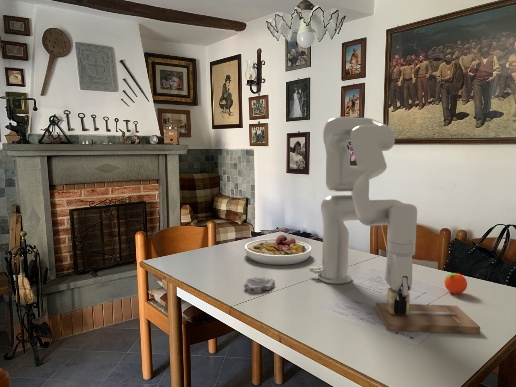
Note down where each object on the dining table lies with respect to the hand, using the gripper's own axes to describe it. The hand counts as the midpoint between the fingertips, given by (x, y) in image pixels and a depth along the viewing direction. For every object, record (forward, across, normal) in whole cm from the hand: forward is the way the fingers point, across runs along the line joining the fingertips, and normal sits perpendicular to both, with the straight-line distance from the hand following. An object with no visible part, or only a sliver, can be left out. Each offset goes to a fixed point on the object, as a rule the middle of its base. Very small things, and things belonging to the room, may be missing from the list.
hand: (397, 309), depth 110 cm
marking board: (+3, 0, +8) cm, 8 cm away
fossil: (+4, -22, -42) cm, 47 cm away
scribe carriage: (0, 0, 0) cm, 1 cm away
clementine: (+3, -23, +26) cm, 34 cm away
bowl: (+4, -62, -36) cm, 72 cm away
